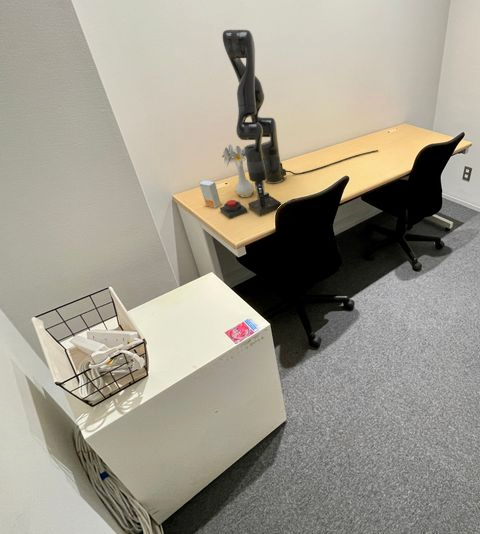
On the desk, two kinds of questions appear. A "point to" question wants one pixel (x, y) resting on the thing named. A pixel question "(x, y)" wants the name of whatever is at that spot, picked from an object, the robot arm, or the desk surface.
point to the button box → (233, 210)
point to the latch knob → (266, 195)
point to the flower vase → (239, 169)
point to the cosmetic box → (210, 193)
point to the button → (231, 203)
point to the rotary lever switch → (264, 209)
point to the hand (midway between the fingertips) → (262, 202)
